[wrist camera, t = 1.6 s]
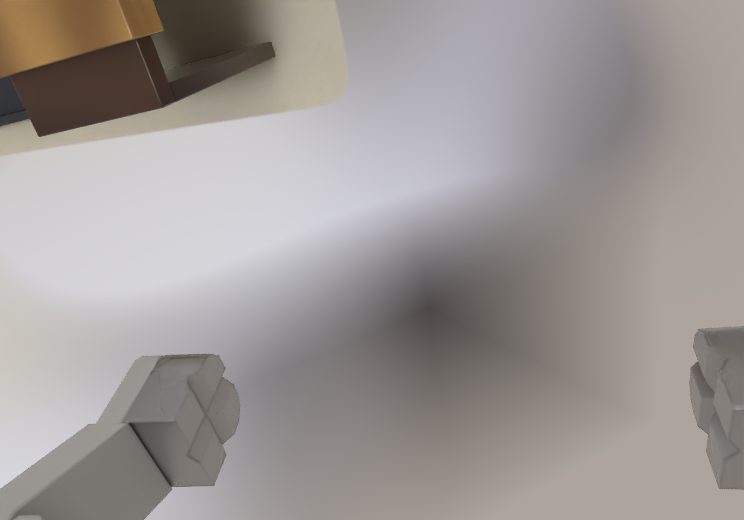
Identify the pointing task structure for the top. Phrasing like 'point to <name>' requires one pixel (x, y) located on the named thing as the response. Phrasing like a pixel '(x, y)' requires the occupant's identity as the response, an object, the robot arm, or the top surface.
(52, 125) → the shelf
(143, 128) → the top surface
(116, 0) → the block
